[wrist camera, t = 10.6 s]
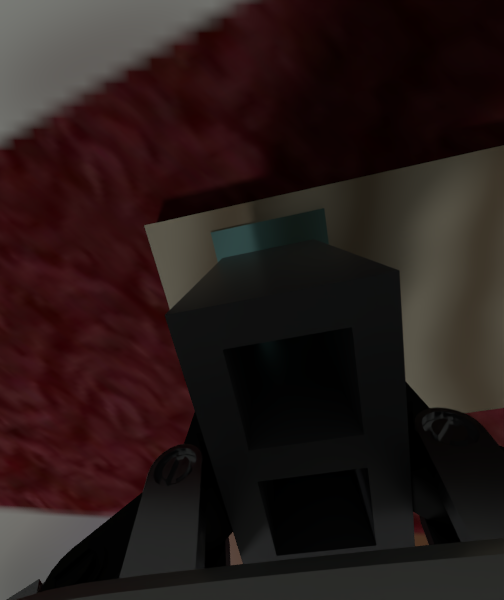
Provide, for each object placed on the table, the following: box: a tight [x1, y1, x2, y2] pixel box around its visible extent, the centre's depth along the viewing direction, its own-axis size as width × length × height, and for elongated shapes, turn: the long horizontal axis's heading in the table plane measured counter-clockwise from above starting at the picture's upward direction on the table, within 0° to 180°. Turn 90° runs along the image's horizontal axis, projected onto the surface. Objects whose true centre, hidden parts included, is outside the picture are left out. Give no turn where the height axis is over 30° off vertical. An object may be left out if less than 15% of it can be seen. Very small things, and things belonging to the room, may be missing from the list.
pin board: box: [145, 145, 504, 413], centre depth 13 cm, size 20×14×5 cm
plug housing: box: [165, 239, 415, 564], centre depth 9 cm, size 10×4×7 cm, turn 12°
